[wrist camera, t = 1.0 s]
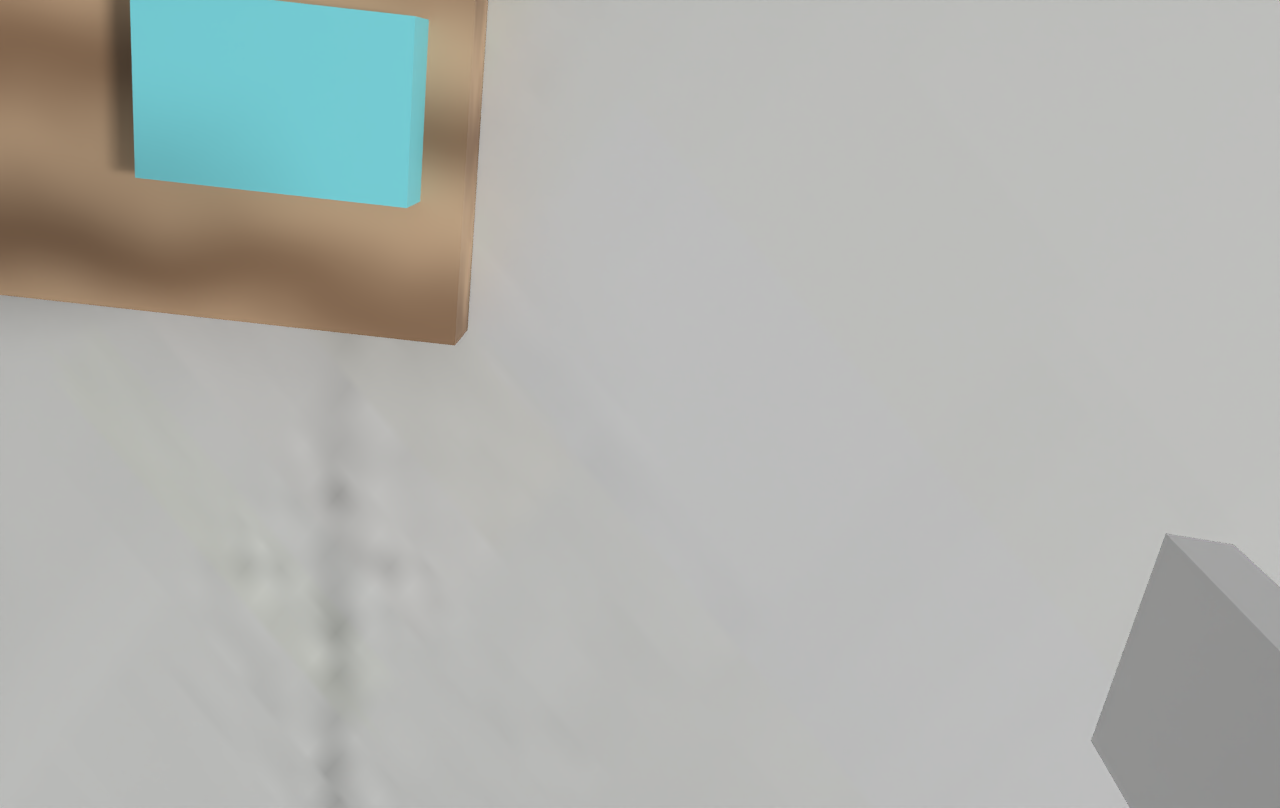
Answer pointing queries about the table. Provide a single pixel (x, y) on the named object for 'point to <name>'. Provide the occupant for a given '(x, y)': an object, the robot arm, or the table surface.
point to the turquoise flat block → (280, 98)
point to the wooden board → (225, 193)
